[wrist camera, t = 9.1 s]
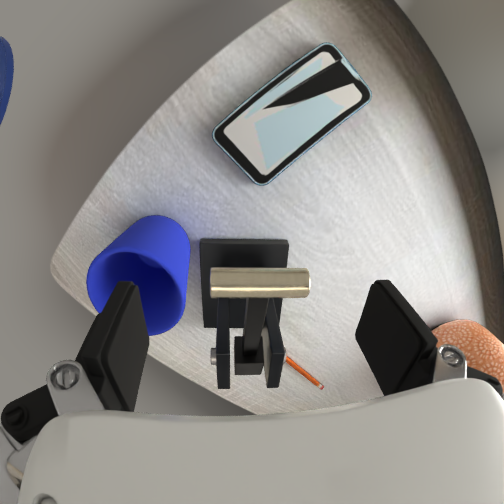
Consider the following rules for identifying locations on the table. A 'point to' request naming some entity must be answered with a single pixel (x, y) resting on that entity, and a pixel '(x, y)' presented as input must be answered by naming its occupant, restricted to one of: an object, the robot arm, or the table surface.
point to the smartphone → (292, 113)
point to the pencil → (303, 373)
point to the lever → (256, 304)
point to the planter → (474, 345)
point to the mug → (146, 270)
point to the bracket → (242, 302)
